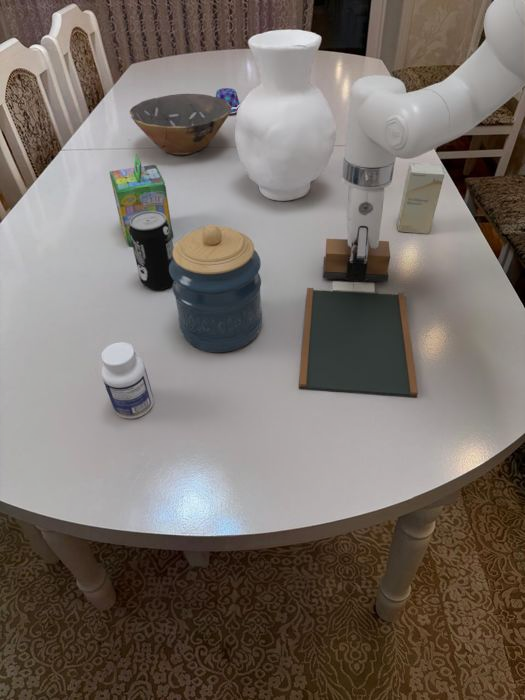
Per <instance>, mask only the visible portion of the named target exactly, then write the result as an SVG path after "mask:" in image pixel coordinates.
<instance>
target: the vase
mask: <svg viewBox="0 0 525 700" xmlns="http://www.w3.org/2000/svg"><path fill="white" fill-rule="evenodd" d="M321 44H322V36H321V35H320V34H317V33H316V32H312V31H309V30H302V29H290V28H289V29H275V30H269V31H264V32H262V33H257V34H255V35H252V36H251V37H250V38H249V39H248V41H247V45H248V47H249V50H250V51H251V53H252V56H253V58H254V62H255V64H256V66H257V69H258V73H259V78H260V83H259V84H258V85H256V86H255V87H254V88H253V89H251V90H250V92H249V93H248V94H247V95H246V97H245V98H244V99H243V100H242V101H241V102H242V103H241V105H240V106H239V108H238V111H237V113H236V116H235V127H234V128H235V130H234V141H235V147H236V151H237V154H238V157H239V161H240V163H241V165H242V167H243V170H244V172H245V173H246V174H247V176H248V178H250V179H251V180H252V182H253V183H255V184H256V185H257V186H259V188H258V190H259V192H260V194H261V195H262V196H263V197H265V198H267V199H269V200H273V201H279V202H288V201H293V200H297V199H299V198H302V197H304V196H306V195H307V194H308V193H309V191H310V187H311V182H312V181H314V180H316V179H317V178H318V177H319V176H320V175H322V174H323V173H324V172H325V170H326V168H327V167H328V165H329V163H330V161H331V158H332V155H333V153H334V149H335V148H334V147H335V143H336V140H337V129H338V126H337V123H336V122H335V118H334V114H333V111H332V110H331V107H330V106H331V105H330V104H329V102H328V100H327V99H326V97H325V96H324V94H323V92H322V91H321V89H319V88H318V87H317V86H316V85H314V84H312V83H311V74H312V68H313V64H314V61H315V58H316V56H317V53H318V51H319V48H320V46H321Z"/></svg>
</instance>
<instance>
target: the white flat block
mask: <svg viewBox="0 0 525 700" xmlns="http://www.w3.org/2000/svg"><path fill="white" fill-rule="evenodd" d="M353 283H354V292H358V293H376V289H375V283H374V282H365V281H353Z"/></svg>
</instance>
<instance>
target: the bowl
mask: <svg viewBox="0 0 525 700" xmlns="http://www.w3.org/2000/svg"><path fill="white" fill-rule="evenodd" d="M231 110H232V109H231V106H230V104H229V103H228V102H226V101H225V100H223V99H220V98H217V97H216V96H212V95H208V94H202V93H178V94H169V95H163V96H159V97H153V98H149V99H145V100H142V101H140V102H139V103H137V104H135V105H134V106H132V107H131V108H130V109H129V114H130V119H132V120H133V122H134V123H135V125H136V126H137V127H138V128H139V129H140V130H141V131H142V132H143V133H144V134H145V135H146V136H147V138H149V139H150V141H152V142H153V144H155V145H156V146H157V147H158V148H159V149H161V150H162V151H163V152H165V153H168V154H170V155H176V156H186V155H187V156H188V155H191V154H195V153H196V152H199V151H201V150H202V149H203V148H205V147H206V146H207V145H208V144H209V143H210V142H211V141H212V140H213V139H214V137H215V136H216V135H217V134H218V132H219V131H220V129H221V127H222V126H223V124H224V123H225V122H226V121H227V119H228V117H229V116H230V112H231Z"/></svg>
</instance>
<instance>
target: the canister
mask: <svg viewBox="0 0 525 700" xmlns="http://www.w3.org/2000/svg"><path fill="white" fill-rule="evenodd" d="M173 247H174V248H173V258H172V259H171V261H170V264H169V272H170V275H171V277H172V278H173V280H174V281H173V285H172V292H173V293H172V294H173V295H174V298H175V302H176V303H175V304H176V309H177V314H178V317H177V321H178V326H179V329H180V331H181V333H182V336H183V338H184V339H185V341H187V343H189V345H190V346H191V347H192V346H193V347H194V348H196V349H198V350H201V351H205V352H209V353H226V352H232V351H235V350H239V349H241V348H243V347H245V346H247V345H248V344H250V343H252V341H253V340H255V339H256V337H257V336H258V334H259V333H260V330H261V327H262V323H263V310H262V303H261V302H262V301H261V286H262V277H261V275H260V273H259V271H260V269H261V263H262V262H261V258H260V255H259V254H258V251H256V250H255V245H254V242H253V241H252V239H251V238H250V237H249V236H248V235H247V234H245V233H243V232H241V231H239V230H236V229H233V228H231V227H228V226H221V225H214V224H209V225H207V226H204V227H200V228H197V229H194V230H192V231H191V232H189V233H188V234H185V235H184V236H182V237H181V238H180V239H178V241H176V243H175V244H174V245H173Z"/></svg>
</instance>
